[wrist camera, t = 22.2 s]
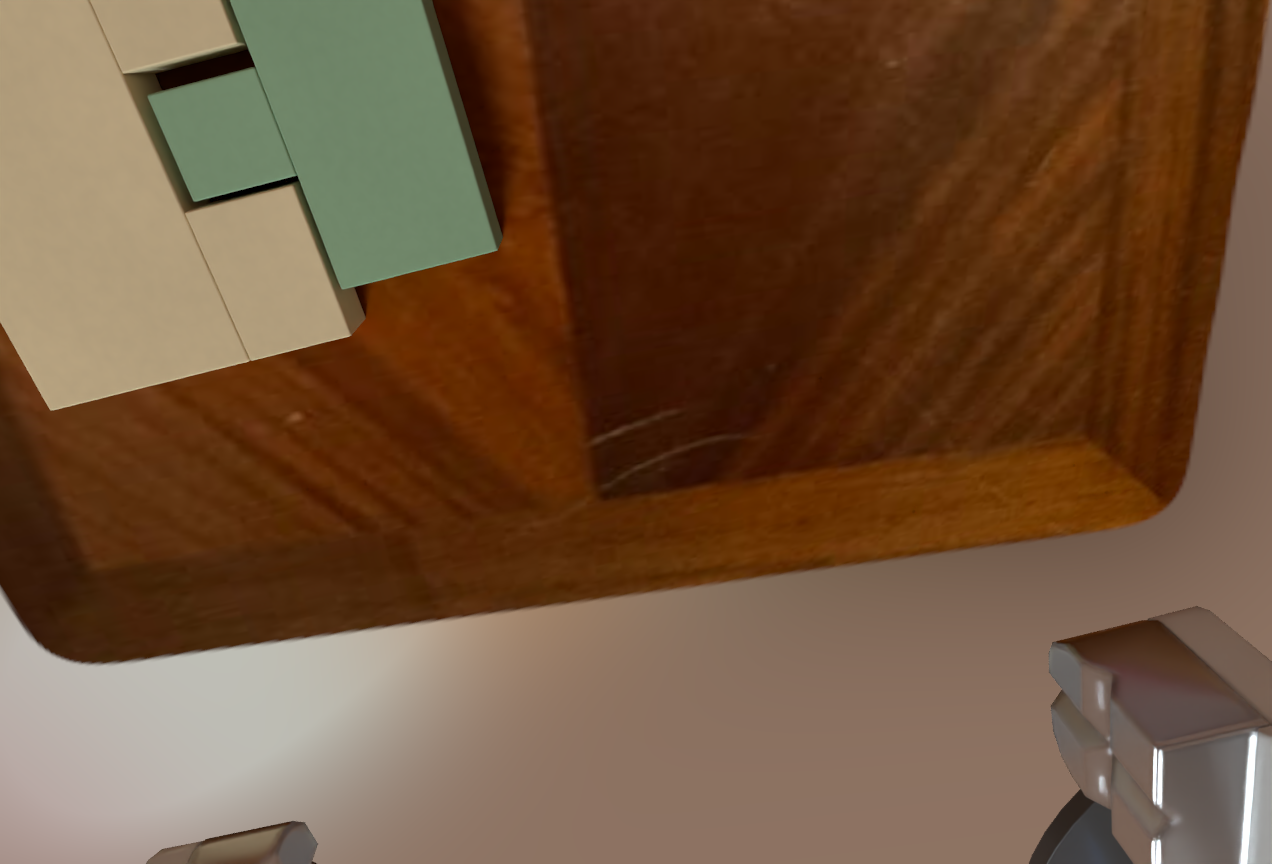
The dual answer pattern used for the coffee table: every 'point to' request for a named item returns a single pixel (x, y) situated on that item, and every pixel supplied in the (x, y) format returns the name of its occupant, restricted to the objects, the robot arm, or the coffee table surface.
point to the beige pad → (137, 212)
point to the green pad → (343, 132)
